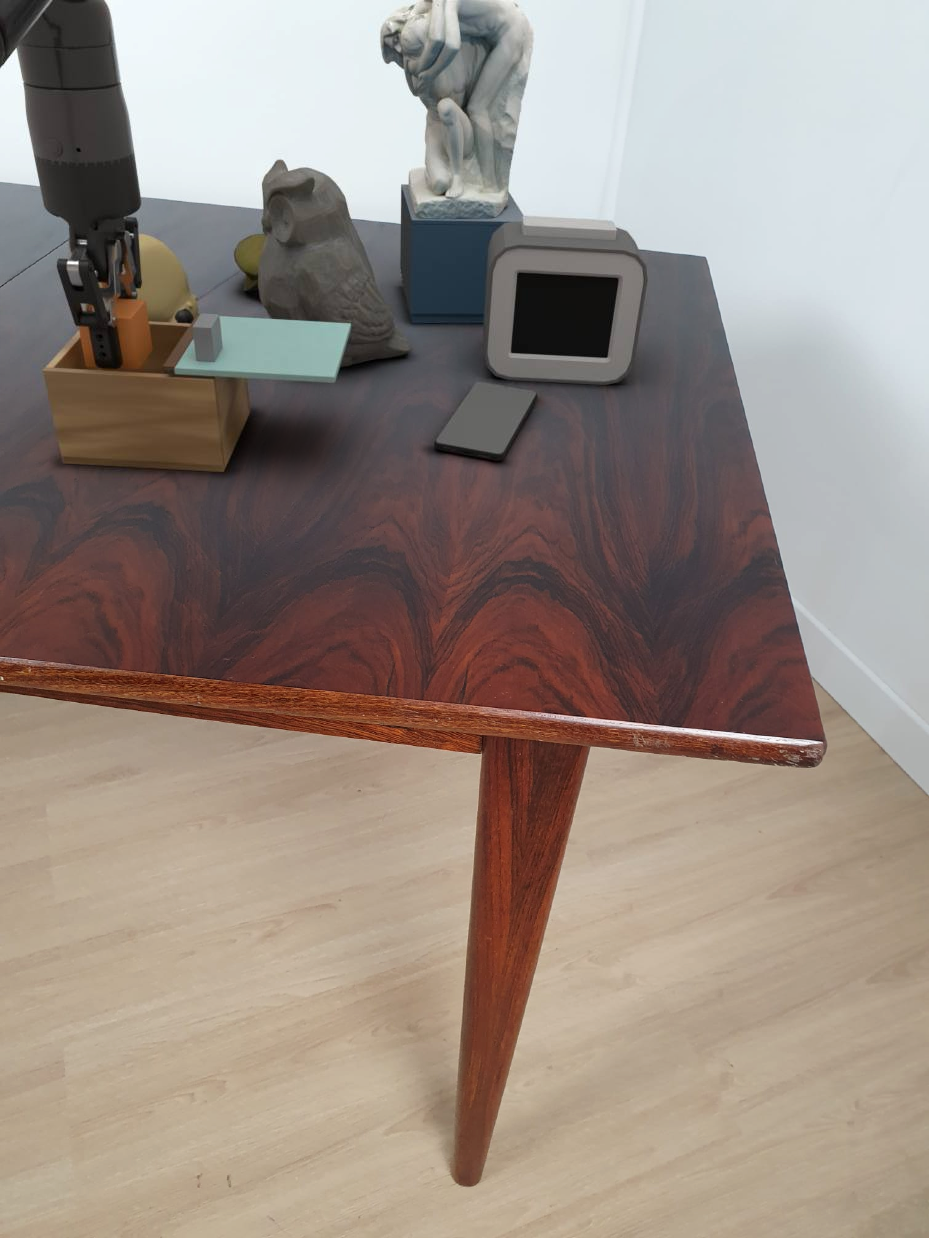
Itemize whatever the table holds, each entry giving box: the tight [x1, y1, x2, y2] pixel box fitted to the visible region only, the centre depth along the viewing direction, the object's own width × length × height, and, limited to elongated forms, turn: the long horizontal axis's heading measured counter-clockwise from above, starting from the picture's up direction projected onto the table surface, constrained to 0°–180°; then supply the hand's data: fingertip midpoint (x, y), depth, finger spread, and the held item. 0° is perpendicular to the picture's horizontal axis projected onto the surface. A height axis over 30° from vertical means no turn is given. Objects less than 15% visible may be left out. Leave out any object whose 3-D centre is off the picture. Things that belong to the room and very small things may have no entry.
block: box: [77, 298, 153, 370], centre depth 86 cm, size 5×5×5 cm
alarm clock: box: [482, 215, 649, 386], centre depth 107 cm, size 16×11×16 cm
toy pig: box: [98, 233, 199, 324], centre depth 111 cm, size 10×12×11 cm
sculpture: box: [379, 0, 534, 324], centre depth 116 cm, size 17×16×35 cm
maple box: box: [42, 321, 251, 473], centre depth 90 cm, size 12×14×9 cm
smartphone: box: [433, 381, 538, 461], centre depth 98 cm, size 7×1×15 cm
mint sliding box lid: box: [163, 313, 351, 384], centre depth 86 cm, size 12×14×4 cm
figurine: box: [258, 158, 410, 368], centre depth 104 cm, size 14×16×20 cm
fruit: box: [233, 233, 266, 292], centre depth 125 cm, size 11×12×7 cm
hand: (118, 354), depth 87 cm, fingers closed on block, 4 cm apart
